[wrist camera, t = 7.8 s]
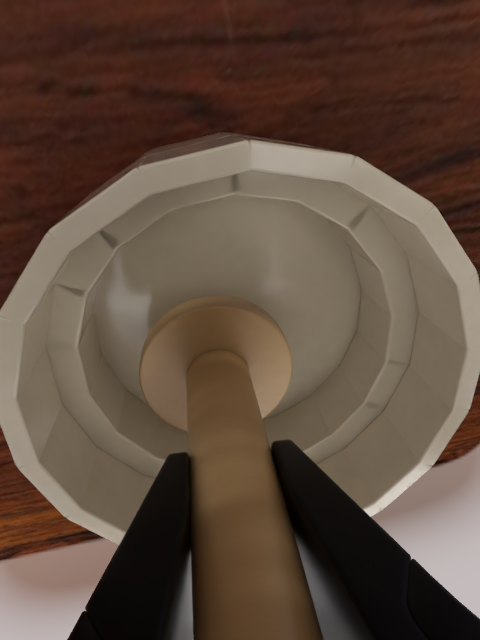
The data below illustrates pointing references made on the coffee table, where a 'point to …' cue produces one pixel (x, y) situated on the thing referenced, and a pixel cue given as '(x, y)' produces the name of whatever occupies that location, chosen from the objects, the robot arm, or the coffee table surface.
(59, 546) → the coffee table surface
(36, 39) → the coffee table surface
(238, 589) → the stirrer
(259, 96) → the coffee table surface
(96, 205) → the bowl
